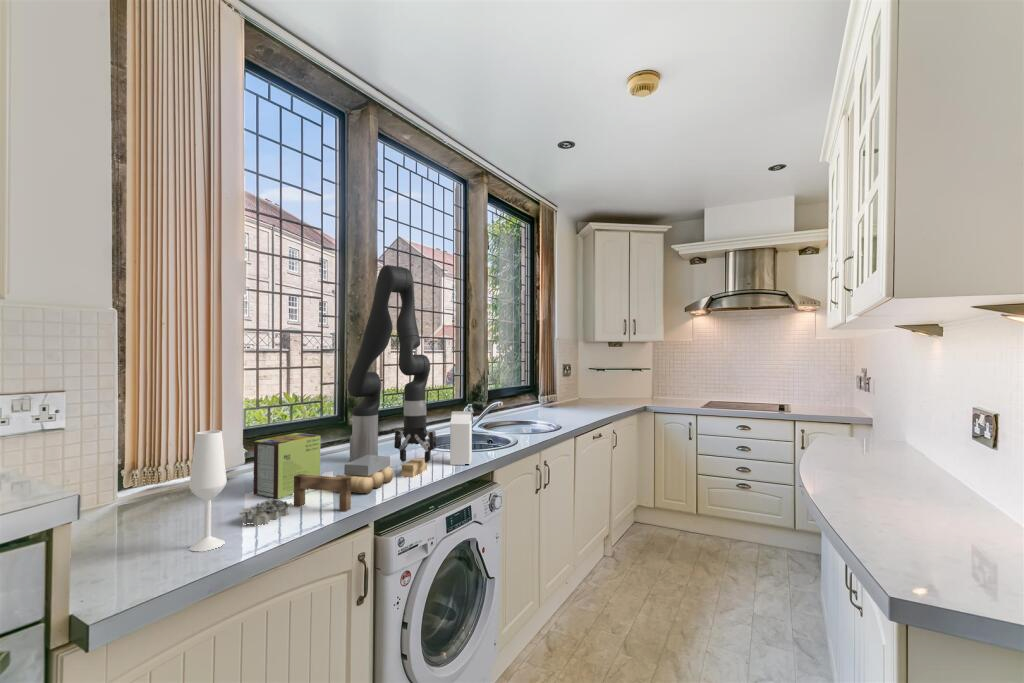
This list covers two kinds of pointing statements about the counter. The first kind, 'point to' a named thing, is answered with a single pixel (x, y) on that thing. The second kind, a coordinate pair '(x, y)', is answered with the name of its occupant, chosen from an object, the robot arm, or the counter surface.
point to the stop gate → (323, 488)
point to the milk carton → (460, 438)
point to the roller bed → (369, 480)
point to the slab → (367, 465)
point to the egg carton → (265, 512)
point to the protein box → (284, 462)
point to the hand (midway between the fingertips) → (415, 461)
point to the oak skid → (414, 467)
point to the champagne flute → (208, 480)
